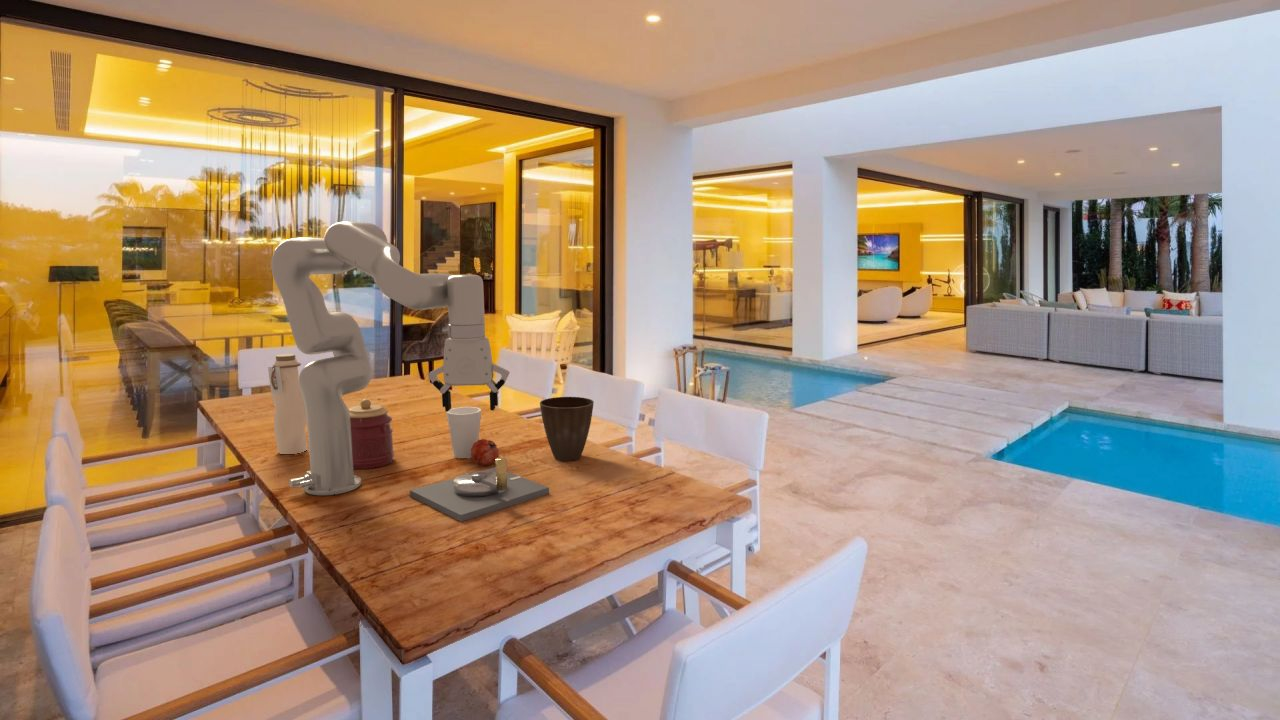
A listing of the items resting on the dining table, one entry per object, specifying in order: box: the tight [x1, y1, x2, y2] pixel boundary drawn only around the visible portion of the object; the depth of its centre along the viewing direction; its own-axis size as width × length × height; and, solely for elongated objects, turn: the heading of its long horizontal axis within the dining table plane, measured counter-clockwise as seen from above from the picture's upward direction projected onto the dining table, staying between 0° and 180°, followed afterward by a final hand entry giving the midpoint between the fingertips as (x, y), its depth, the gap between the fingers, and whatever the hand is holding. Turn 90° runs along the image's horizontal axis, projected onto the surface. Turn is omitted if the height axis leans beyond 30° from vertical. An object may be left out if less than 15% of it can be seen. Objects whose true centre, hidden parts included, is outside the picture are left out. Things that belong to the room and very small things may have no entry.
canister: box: [348, 398, 395, 470], centre depth 183 cm, size 13×13×18 cm
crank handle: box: [453, 456, 508, 497], centre depth 158 cm, size 16×12×9 cm
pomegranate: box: [471, 438, 500, 467], centre depth 183 cm, size 7×7×10 cm
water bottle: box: [267, 353, 309, 455], centre depth 192 cm, size 10×9×28 cm
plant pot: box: [539, 396, 595, 462], centre depth 189 cm, size 15×15×16 cm
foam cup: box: [446, 406, 482, 459], centre depth 191 cm, size 10×9×13 cm
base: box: [409, 466, 550, 522], centre depth 160 cm, size 24×22×2 cm
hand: (470, 409), depth 148 cm, fingers open, 9 cm apart
